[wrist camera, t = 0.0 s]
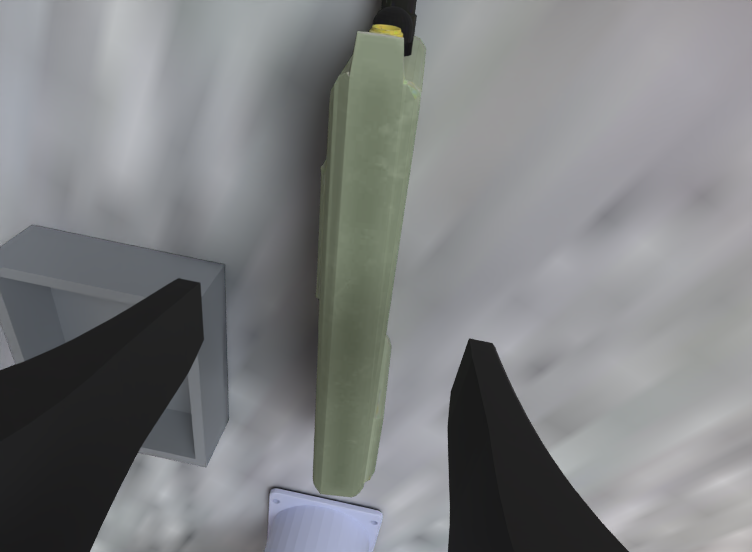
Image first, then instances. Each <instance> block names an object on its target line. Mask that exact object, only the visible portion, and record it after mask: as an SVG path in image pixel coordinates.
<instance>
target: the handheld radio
mask: <svg viewBox="0 0 752 552" xmlns="http://www.w3.org/2000/svg"><path fill="white" fill-rule="evenodd" d="M416 1H417V0H382V9H381V10H380V11H379V12H378V13H377V15H376V16H375V19H374V22H373V26H372V29H370V30H369V32H362V31H357V35H356V40H355V46H354V51H353V55H352V57H351V58H350V60H349V61H348V63H347V64H346V66H345V67H344V69H343V71H342V72H341V74H340V75H339V77H338V79H337V80H336V82H335V84H334V86H333V87H332V89H331V94H330V101H329V121H328V138H327V158H326V160H325V162H324V164H323V165H322V166H321V167H320V168H321V192H320V216H319V240H318V264H317V288H316V295H315V296H316V298H317V299H318V300H319V319H318V358H317V384H316V409H315V435H314V460H313V482H314V485H315V487H316V489H317V490H318V491H319V493H320V494H326V495H335V496H344V497H354V496H356V495H357V494H358V493H359V492H360V491H361V490H362V488H363V486H364V483H365V482H366V481H368V480H370V478H371V476H372V475H373V473H374V471H375V466H376V460H377V454H378V448H379V442H380V436H381V430H382V424H383V417H384V408H385V399H386V390H387V381H388V372H389V364H390V355H391V343H390V340H389V338H388V337H387V336H386V331H387V324H388V317H389V310H390V304H391V297H392V290H393V283H394V277H395V270H396V263H397V256H398V250H399V243H400V236H401V229H402V223H403V216H404V209H405V202H406V196H407V189H408V182H409V175H410V169H411V162H412V155H413V148H414V142H415V135H416V128H417V121H418V115H419V108H420V96H421V92H422V84H423V74H424V64H425V54H426V47H425V46H424V44H423V42H422V41H421V39H420V38H418V37H416V36H414V33H415V25H416V17H417V15H416V14H415V8H416Z"/></svg>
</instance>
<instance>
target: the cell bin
mask: <svg viewBox="0 0 752 552" xmlns="http://www.w3.org/2000/svg"><path fill="white" fill-rule="evenodd" d="M178 278H181V279H185V280H190V281H195V282H200V283H201V298H202V314H203V330H204V341H203V343H202V345H201V348H200V350H199V352H198V354H197V357H196V359H195V361H194V363H193V365H192V367H191V369H190V371H189V373H188V375H187V376H186V378H185V379H184V381H183V383H182V384H181V386H180V387H179V389H178V390H177V392H176V394H175V395H174V397H173V398H172V400H171V401H170V403H169V404H168V406H167V407H166V409H165V411H164V412H163V414H162V415H161V417H160V418H159V420H158V421H157V423H156V424H155V426H154V428H153V429H152V431H151V432H150V434H149V435H148V437H147V438H146V440H145V442H144V443H143V445H142V447H141V448H140V450H139V452H138V453H142V454H147V455H152V456H156V457H161V458H165V459H170V460H174V461H179V462H183V463H188V464H193V465H197V466H202V467H207V465H208V463H209V460H210V458H211V456H212V454H213V452H214V450H215V448H216V446H217V444H218V441H219V439H220V437H221V435H222V433H223V431H224V429H225V427H226V425H227V423H228V420H229V407H228V370H227V333H226V296H225V265H224V264H219V263H215V262H210V261H205V260H200V259H195V258H190V257H185V256H181V255H176V254H171V253H166V252H161V251H156V250H152V249H147V248H142V247H137V246H132V245H127V244H122V243H118V242H113V241H108V240H103V239H98V238H93V237H89V236H84V235H79V234H74V233H69V232H64V231H59V230H55V229H50V228H45V227H40V226H35V225H31V226H30V227H28V228H27V229H25V230H24V231H22V232H21V233H20V234H18V235H17V236H15V237H14V238H12V239H11V240H9V241H8V242H7V243H5V244H4V245H2V246H1V247H0V323H1V326H2V329H3V331H4V334H5V337H6V340H7V342H8V345H9V348H10V351H11V353H12V356H13V359H14V362H15V364H18V363H21V362H24V361H26V360H28V359H31V358H33V357H35V356H38V355H40V354H42V353H45V352H47V351H49V350H51V349H54V348H56V347H58V346H60V345H62V344H64V343H66V342H68V341H70V340H72V339H74V338H76V337H78V336H80V335H82V334H84V333H85V332H87V331H89V330H91V329H93V328H95V327H97V326H98V325H100V324H102V323H104V322H106V321H108V320H110V319H111V318H113V317H115V316H116V315H118V314H120V313H121V312H123V311H125V310H127V309H128V308H130V307H132V306H133V305H135V304H137V303H138V302H140V301H141V300H143V299H145V298H146V297H148V296H150V295H151V294H153V293H154V292H156V291H158V290H159V289H161V288H162V287H164V286H166V285H167V284H169V283H171V282H172V281H174V280H176V279H178Z"/></svg>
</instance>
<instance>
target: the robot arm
mask: <svg viewBox="0 0 752 552" xmlns="http://www.w3.org/2000/svg"><path fill="white" fill-rule="evenodd" d="M203 341H204V330H203V314H202V298H201V283H200V282H195V281H190V280H185V279H181V278H178V279H176V280H174V281H172V282H171V283H169V284H167V285H166V286H164V287H162V288H161V289H159V290H158V291H156V292H154V293H153V294H151V295H150V296H148V297H146V298H145V299H143V300H141V301H140V302H138V303H137V304H135V305H133V306H132V307H130V308H128V309H127V310H125V311H123V312H121V313H120V314H118V315H116V316H115V317H113V318H111V319H110V320H108V321H106V322H104V323H102V324H100V325H98V326H97V327H95V328H93V329H91V330H89V331H87V332H85V333H84V334H82V335H80V336H78V337H76V338H74V339H72V340H70V341H68V342H66V343H64V344H62V345H60V346H58V347H56V348H54V349H51V350H49V351H47V352H45V353H42V354H40V355H38V356H35V357H33V358H31V359H28V360H26V361H24V362H21V363H18V364H16V365H13V366H10V367H8V368H5V369H2V370H0V552H90V550H91V548H92V546H93V543H94V541H95V539H96V537H97V535H98V532H99V530H100V528H101V526H102V524H103V521H104V519H105V517H106V515H107V513H108V511H109V509H110V507H111V505H112V503H113V501H114V499H115V497H116V494H117V492H118V490H119V488H120V486H121V484H122V482H123V480H124V478H125V477H126V475H127V473H128V471H129V469H130V467H131V465H132V463H133V461H134V459H135V457H136V455H137V453H138V452H139V450H140V448H141V447H142V445H143V443H144V442H145V440H146V438H147V437H148V435H149V434H150V432H151V431H152V429H153V428H154V426H155V424H156V423H157V421H158V420H159V418H160V417H161V415H162V414H163V412H164V411H165V409H166V407H167V406H168V404H169V403H170V401H171V400H172V398H173V397H174V395H175V394H176V392H177V390H178V389H179V387H180V386H181V384H182V383H183V381H184V379H185V378H186V376H187V375H188V373H189V371H190V369H191V367H192V365H193V363H194V361H195V359H196V357H197V354H198V352H199V350H200V348H201V345H202V343H203ZM448 461H449V492H450V529H449V544H448V552H629V551H628V550H627V549H626V548H625V547H624V546H623V545H622V544H621V543H620V542H619V541H618V540H617V538H616V537H615V536H614V535H613V534H612V533H611V532H610V531H609V530H608V529H607V528H606V527H605V525H604V524H603V523H602V522H601V521H600V520H599V519H598V517H597V516H596V515H595V514H594V513H593V511H592V510H591V509H590V508H589V506H588V505H587V504H586V503H585V502H584V500H583V499H582V498H581V497H580V495H579V494H578V493H577V492H576V491H575V489H574V488H573V487H572V485H571V484H570V483H569V481H568V480H567V479H566V477H565V476H564V474H563V473H562V472H561V470H560V469H559V467H558V466H557V464H556V463H555V461H554V460H553V459H552V457H551V455H550V454H549V452H548V451H547V449H546V448H545V446H544V444H543V443H542V441H541V440H540V438H539V436H538V434H537V433H536V431H535V429H534V428H533V426H532V424H531V422H530V421H529V419H528V417H527V415H526V413H525V411H524V409H523V407H522V405H521V403H520V402H519V400H518V398H517V396H516V394H515V392H514V390H513V388H512V385H511V383H510V381H509V379H508V377H507V375H506V372H505V370H504V368H503V365H502V363H501V361H500V358H499V356H498V353H497V351H496V348H495V347H494V345H493V343H489V342H484V341H479V340H474V339H470V338H469V340H468V343H467V346H466V349H465V352H464V355H463V358H462V361H461V364H460V367H459V369H458V372H457V375H456V378H455V381H454V384H453V387H452V390H451V395H450V406H449V417H448ZM382 518H383V514H382V513H381V512H380V511H378V510H374V509H370V508H365V507H360V506H356V505H351V504H347V503H342V502H338V501H333V500H329V499H324V498H319V497H315V496H310V495H306V494H301V493H297V492H292V491H287V490H283V489H278V488H274V489H272V490H271V492H270V495H269V514H268V534H267V544H266V547H265V550H264V552H373V550H374V547H375V543H376V540H377V536H378V533H379V529H380V526H381V523H382Z"/></svg>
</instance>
